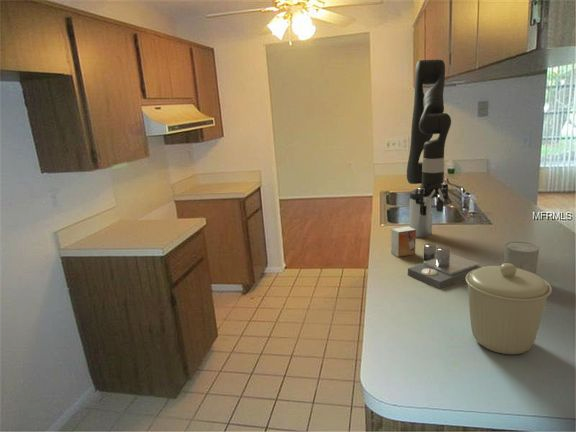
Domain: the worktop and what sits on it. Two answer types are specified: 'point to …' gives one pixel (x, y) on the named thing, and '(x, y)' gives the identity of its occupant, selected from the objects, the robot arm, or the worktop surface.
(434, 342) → the worktop surface
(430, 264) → the shower mixer plate
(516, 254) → the grey round cylinder
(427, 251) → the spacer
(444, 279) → the scale
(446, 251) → the cylinder
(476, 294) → the canister
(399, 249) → the small box
